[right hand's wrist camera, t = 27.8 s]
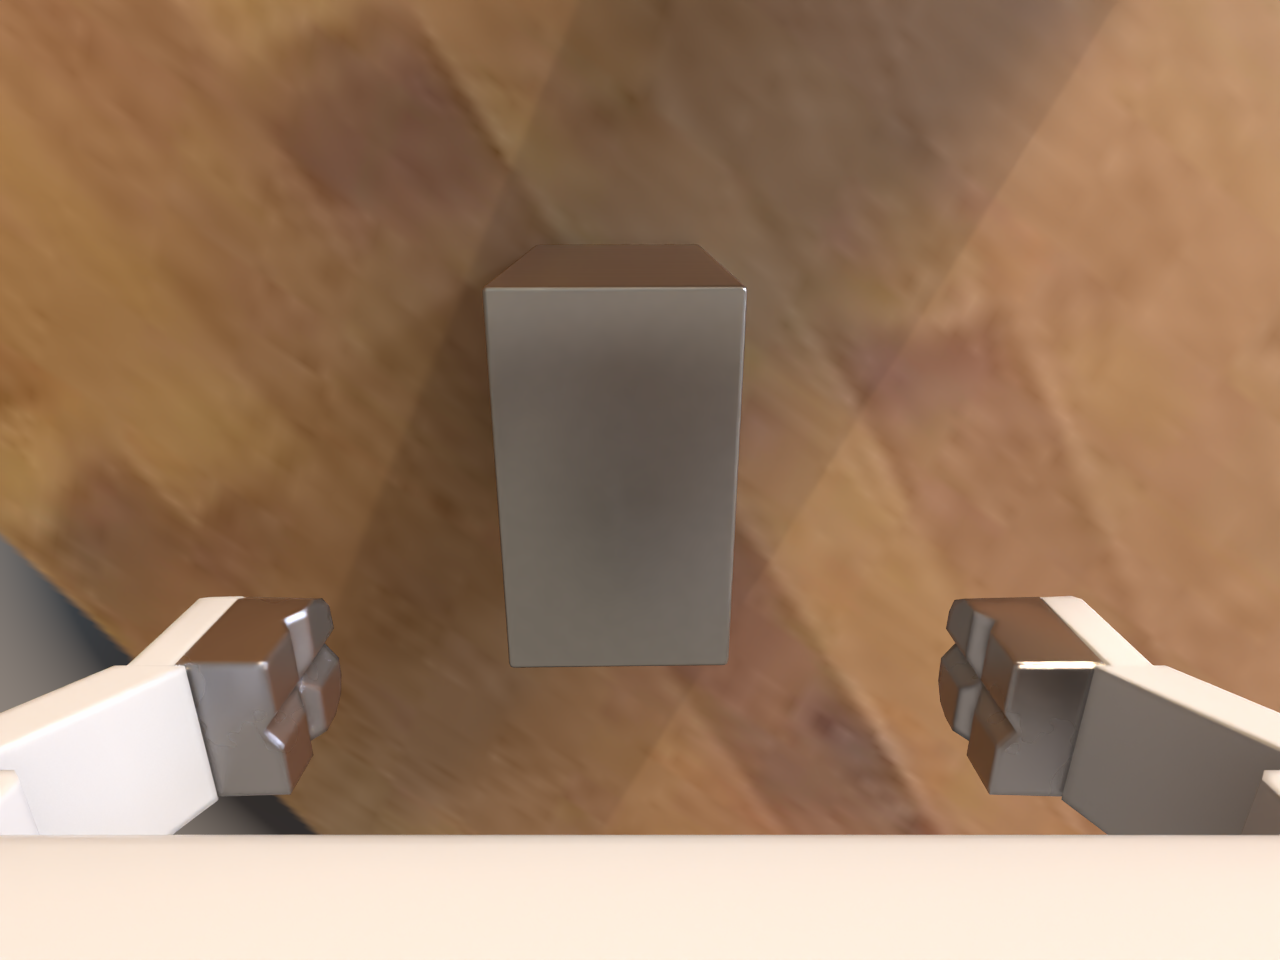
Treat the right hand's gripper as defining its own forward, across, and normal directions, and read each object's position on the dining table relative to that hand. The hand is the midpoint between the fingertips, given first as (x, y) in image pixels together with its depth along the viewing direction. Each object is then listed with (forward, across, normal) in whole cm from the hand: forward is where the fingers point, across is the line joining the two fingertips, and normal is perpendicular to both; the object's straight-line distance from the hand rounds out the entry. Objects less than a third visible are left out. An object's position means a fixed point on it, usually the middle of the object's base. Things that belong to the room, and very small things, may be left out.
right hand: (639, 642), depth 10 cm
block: (+14, -1, 0) cm, 14 cm away
